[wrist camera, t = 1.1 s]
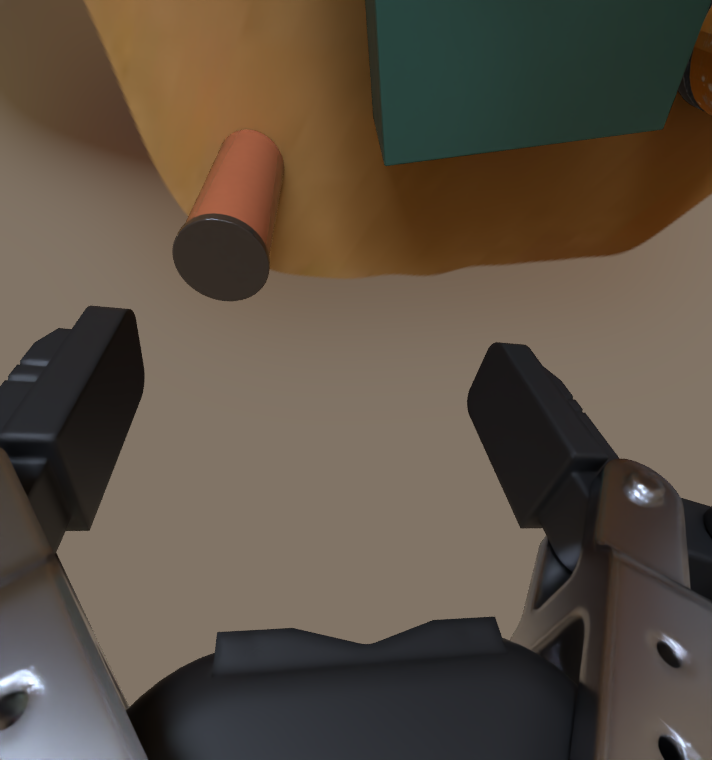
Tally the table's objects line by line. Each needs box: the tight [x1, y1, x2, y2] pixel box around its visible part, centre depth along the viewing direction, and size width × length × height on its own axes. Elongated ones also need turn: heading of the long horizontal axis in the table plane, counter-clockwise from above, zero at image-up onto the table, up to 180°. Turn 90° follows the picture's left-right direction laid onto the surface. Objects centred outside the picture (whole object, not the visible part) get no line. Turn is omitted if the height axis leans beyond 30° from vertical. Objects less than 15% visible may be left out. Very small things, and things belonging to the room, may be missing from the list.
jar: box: [173, 130, 284, 301], centre depth 24 cm, size 4×4×12 cm
